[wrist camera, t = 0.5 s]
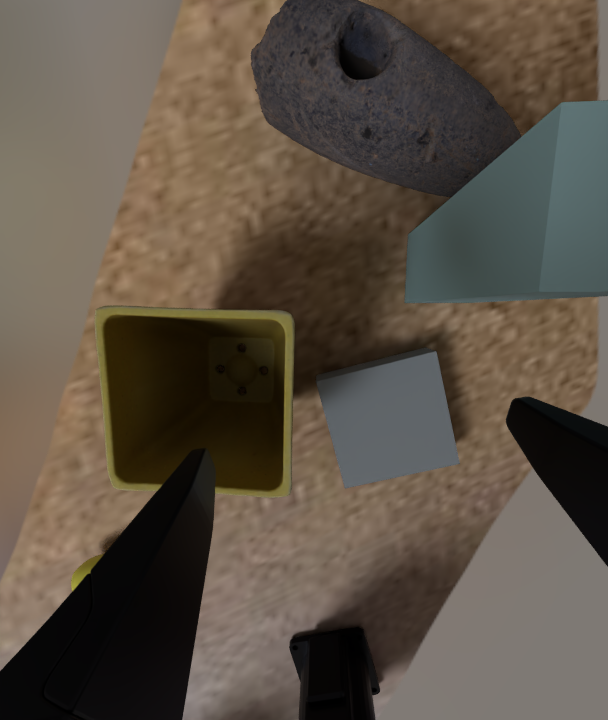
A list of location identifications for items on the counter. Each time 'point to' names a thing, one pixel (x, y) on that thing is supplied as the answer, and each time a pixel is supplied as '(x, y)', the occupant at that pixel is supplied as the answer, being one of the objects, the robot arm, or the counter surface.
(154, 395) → the flower pot
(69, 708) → the robot arm
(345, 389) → the tile
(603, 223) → the pillar
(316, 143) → the perforated stone tool
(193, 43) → the counter surface
